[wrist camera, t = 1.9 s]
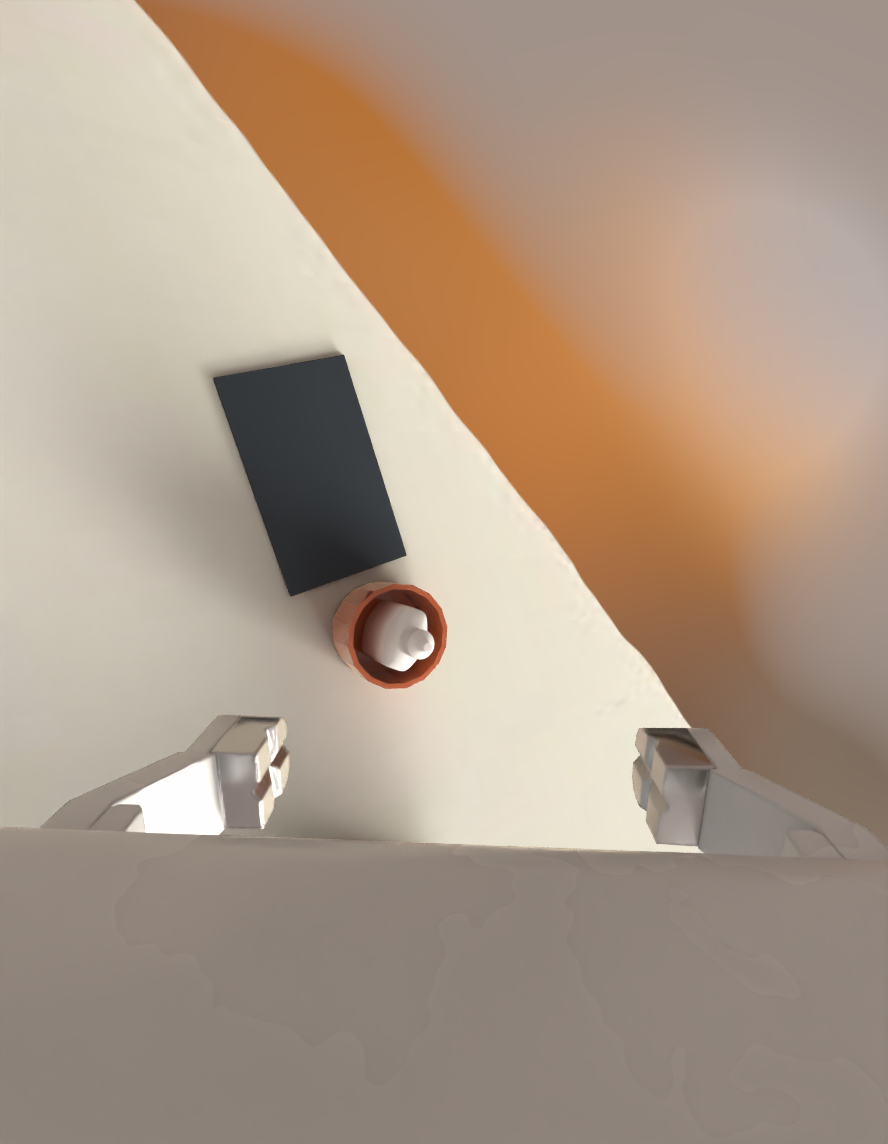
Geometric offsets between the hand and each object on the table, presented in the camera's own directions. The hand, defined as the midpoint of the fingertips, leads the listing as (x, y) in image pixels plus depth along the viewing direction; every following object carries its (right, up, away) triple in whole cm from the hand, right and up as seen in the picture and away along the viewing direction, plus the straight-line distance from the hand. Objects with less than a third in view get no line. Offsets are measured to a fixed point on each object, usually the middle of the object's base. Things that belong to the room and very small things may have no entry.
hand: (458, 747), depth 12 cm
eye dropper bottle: (-7, -2, +40) cm, 41 cm away
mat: (-12, +13, +38) cm, 42 cm away
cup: (-7, -2, +40) cm, 41 cm away
